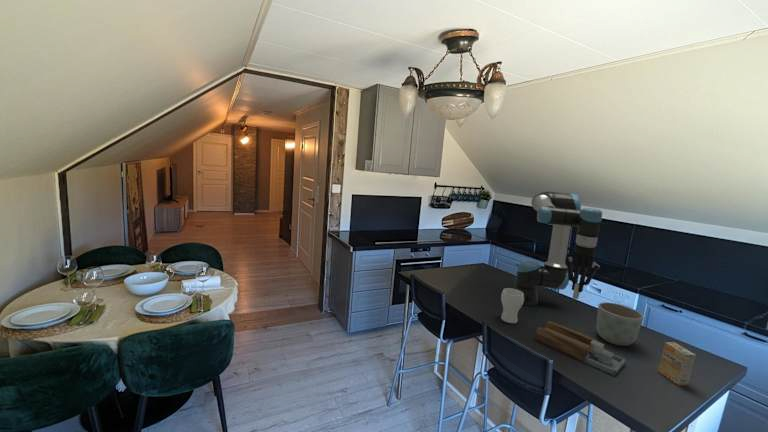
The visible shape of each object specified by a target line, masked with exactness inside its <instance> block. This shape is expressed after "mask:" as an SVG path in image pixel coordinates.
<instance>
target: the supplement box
mask: <svg viewBox="0 0 768 432" xmlns="http://www.w3.org/2000/svg"><path fill="white" fill-rule="evenodd" d="M696 357H697V354H695V353H694V352H692V351H690V350H688V349H687V348H685V347H684V346H682V345H680V344H679V343H677V342H675V341H674V342H671V341H669V342H668V341H667V342H666V341H665V343H664V347H663V349H662V355H661V358H660V363H659V366H658V368H657V369H658V370H657V372H658V373H659V372H660V374H661V375H662V374H663V375H662V376H664V377H665V376H666V377H665V378H667V379H668V378H669V380H670V381H671V382H672V381H673V382H672V383H673V384H675V383H676V384H677V385H676V384H675V385H676V386H689V383H690V378H691V375H692V371H693V368H694V363H695V360H696Z"/></svg>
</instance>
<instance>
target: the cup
mask: <svg viewBox="0 0 768 432" xmlns="http://www.w3.org/2000/svg"><path fill="white" fill-rule="evenodd" d="M500 300H501V304H502V310H503V311H502V313H501V317H500V319H501V320H502V321H503V322H505V323H509V324H517V323H518V313H519V310H520V309H521V308H522V307H523V306H524V305H523V302H524V294H523V292H521V291H519V290H517V289H513V288H511V287H507V288H503V290H502V292H501V296H500Z"/></svg>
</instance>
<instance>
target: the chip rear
mask: <svg viewBox="0 0 768 432" xmlns="http://www.w3.org/2000/svg"><path fill="white" fill-rule="evenodd" d="M596 340H597V339H596ZM596 340H593V341H592V342H590V346H589V349H588V351H589V352H591V353H593V354H595V355H597V356H599V354H600V351H601V350H602V349H605V348H604V347H605V344H604V343H602V342H600V341H599V340H597V341H596Z"/></svg>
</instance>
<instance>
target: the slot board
mask: <svg viewBox="0 0 768 432" xmlns="http://www.w3.org/2000/svg"><path fill="white" fill-rule="evenodd" d="M535 334H536V335H535V340H536V341H538V342H541V343H542V344H543V345H544V344H545V345H547V346H549V347H551V348H553V349H555V350H557V351H559V352H562V353H564V354H567V355H568V356H570V357H573V358H575V359H576V360H577V359H578V361H579V360H580V361H581V362H583V363H585V362H584V358H585V356H587V355H588V354H589V353H590V352H589V351H588V349H589V346H590V342H592V341H593V340H596V341H598V339H596V338H593V337H591V336H588V335H585V334H583V333H581V332H579V331H576V330H573V329H571V328H569V327H566V326H564V325H561V324H559V323H557V322H554V321H551V320H548V321H547V324H546V327H542V326H539V327H537V329H536V333H535Z"/></svg>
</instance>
